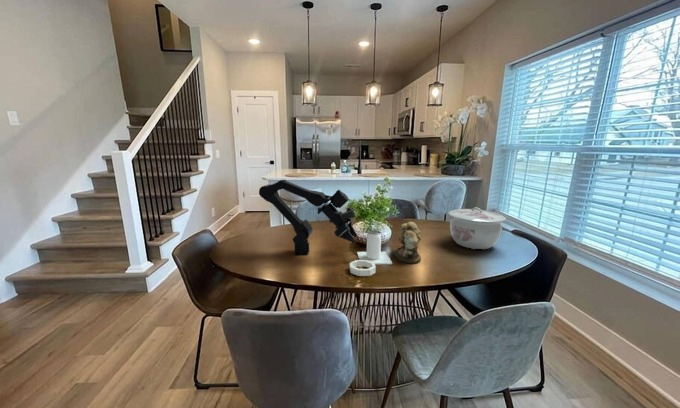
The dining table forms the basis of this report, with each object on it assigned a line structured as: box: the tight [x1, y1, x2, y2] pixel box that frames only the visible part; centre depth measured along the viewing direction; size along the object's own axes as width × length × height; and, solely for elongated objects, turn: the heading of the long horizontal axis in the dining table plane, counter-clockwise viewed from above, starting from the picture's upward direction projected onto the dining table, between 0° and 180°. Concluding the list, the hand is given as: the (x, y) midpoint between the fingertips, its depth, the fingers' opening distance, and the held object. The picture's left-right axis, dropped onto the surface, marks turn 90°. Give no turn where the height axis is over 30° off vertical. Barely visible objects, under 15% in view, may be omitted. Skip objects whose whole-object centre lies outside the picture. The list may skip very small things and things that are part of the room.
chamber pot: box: [447, 206, 507, 250], centre depth 151 cm, size 28×28×21 cm
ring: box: [349, 259, 377, 277], centre depth 120 cm, size 10×10×2 cm
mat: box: [356, 251, 393, 266], centre depth 133 cm, size 14×14×1 cm
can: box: [366, 230, 382, 260], centre depth 132 cm, size 6×6×12 cm
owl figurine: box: [393, 221, 422, 265], centre depth 134 cm, size 18×12×17 cm, turn 6°
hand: (355, 239), depth 133 cm, fingers open, 9 cm apart
